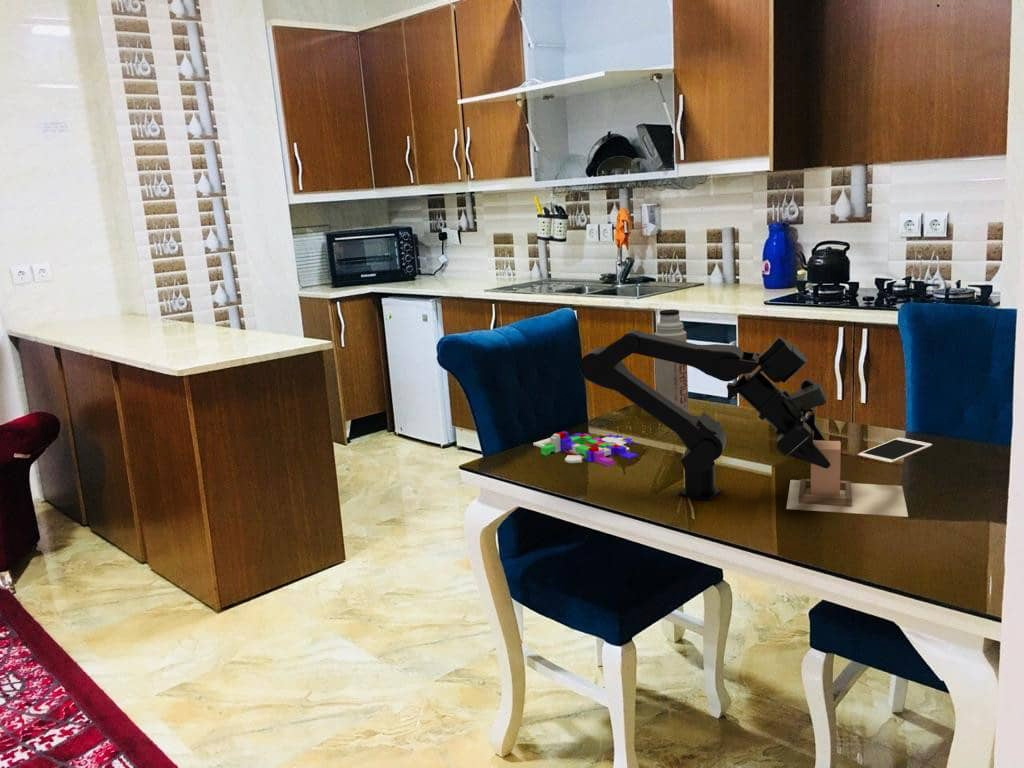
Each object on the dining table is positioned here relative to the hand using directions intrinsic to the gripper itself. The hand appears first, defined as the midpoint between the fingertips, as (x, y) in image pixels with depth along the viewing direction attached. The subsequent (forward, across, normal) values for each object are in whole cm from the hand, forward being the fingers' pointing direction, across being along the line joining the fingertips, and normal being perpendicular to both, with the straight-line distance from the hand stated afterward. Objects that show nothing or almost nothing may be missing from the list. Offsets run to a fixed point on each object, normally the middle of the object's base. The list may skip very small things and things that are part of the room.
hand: (829, 458), depth 154 cm
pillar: (+5, 0, +6) cm, 7 cm away
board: (+8, 0, +4) cm, 9 cm away
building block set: (-31, +24, +44) cm, 59 cm away
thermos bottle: (-21, +52, +33) cm, 65 cm away
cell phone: (+16, +32, -3) cm, 36 cm away
